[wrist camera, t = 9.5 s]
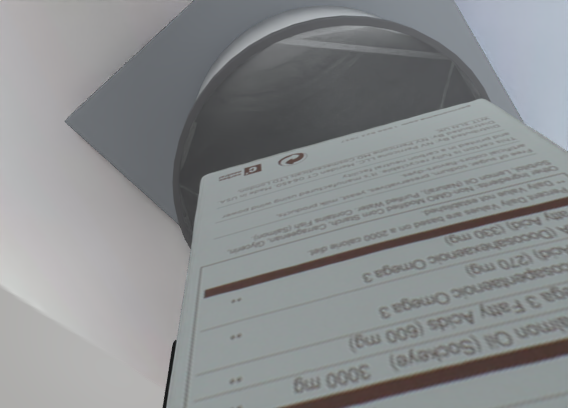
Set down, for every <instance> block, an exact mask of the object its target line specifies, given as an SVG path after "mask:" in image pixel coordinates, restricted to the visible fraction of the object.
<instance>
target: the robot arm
mask: <svg viewBox="0 0 568 408" xmlns="http://www.w3.org/2000/svg"><path fill="white" fill-rule="evenodd" d="M176 342H177V340H175V341H174V342H173V346H172V352H171V359H170V365H169V371H168V378H167V384H166V390H165V397H164V403H163V408H166V405H167V399H168V392H169V386H170V380H171V374H172V368H173V361H174V355H175V348H176Z"/></svg>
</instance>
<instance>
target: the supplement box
mask: <svg viewBox="0 0 568 408" xmlns="http://www.w3.org/2000/svg"><path fill="white" fill-rule="evenodd" d="M166 408H568V151H566V150H565V149H563V148H562V147H560V146H559V145H557V144H556V143H554V142H552V141H551V140H549V139H548V138H546V137H545V136H543V135H542V134H540V133H539V132H537V131H535V130H534V129H532V128H531V127H529V126H527V125H526V124H524V123H523V122H521V121H519V120H518V119H516V118H515V117H513V116H511V115H510V114H508V113H507V112H505V111H504V110H502V109H501V108H499V107H498V106H496V105H494V104H493V103H491V102H489V101H487V100H486V99H478V100H474V101H471V102H468V103H464V104H459V105H456V106H452V107H448V108H444V109H440V110H436V111H432V112H429V113H425V114H421V115H418V116H415V117H411V118H408V119H404V120H399V121H395V122H392V123H389V124H385V125H382V126H378V127H374V128H371V129H367V130H364V131H360V132H355V133H352V134H348V135H345V136H342V137H338V138H334V139H330V140H327V141H323V142H320V143H316V144H313V145H309V146H305V147H302V148H298V149H294V150H290V151H287V152H283V153H279V154H276V155H273V156H269V157H266V158H262V159H258V160H255V161H252V162H249V163H245V164H241V165H237V166H234V167H230V168H226V169H223V170H220V171H216V172H213V173H209V174H207V175H205V176H203V177H202V179H201V181H200V189H199V196H198V202H197V209H196V215H195V221H194V228H193V238H192V245H191V252H190V258H189V265H188V271H187V277H186V284H185V290H184V297H183V303H182V309H181V316H180V323H179V329H178V336H177V342H176V348H175V355H174V361H173V368H172V374H171V380H170V386H169V392H168V399H167V405H166Z"/></svg>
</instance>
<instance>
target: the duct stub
mask: <svg viewBox="0 0 568 408" xmlns="http://www.w3.org/2000/svg"><path fill="white" fill-rule="evenodd" d="M478 99H486V100H487V101H489V102H491V103H493V104H494V105H496V106H498V107H499V108H501V109H502V110H504V111H505V112H507V113H508V114H510V115H511V116H513V117H515V118H516V119H518V120H519V121H521V122H523V120H522V118H521V117H520V115H519V113H518V111H517V110H516V108H515V106H514V104H513V103H512V101H511V99H510V97H509V96H508V94H507V92H506V90H505V89H504V87H503V85H502V83H501V82H500V80H499V78H498V77H497V75H496V73H495V71H494V70H493V68H492V66H491V64H490V63H489V61H488V59H487V57H486V56H485V54H484V52H483V50H482V49H481V47H480V45H479V43H478V42H477V40H476V38H475V36H474V35H473V33H472V31H471V29H470V28H469V26H468V24H467V22H466V21H465V19H464V17H463V15H462V14H461V12H460V10H459V8H458V7H457V5H456V3H455V1H454V0H194V1H193V2H192V3H191V4H189V5H188V6H187V7H186V8H185V9H184V10H183V11H182V12H181V13H180V14H179V15H178V16H177V17H176V18H174V19H173V20H172V21H171V22H170V23H169V24H168V25H167V26H166V27H165V28H164V29H163V30H162V31H160V32H159V33H158V34H157V35H156V36H155V37H154V38H153V39H152V40H151V41H150V42H149V43H148V44H146V45H145V46H144V47H143V48H142V49H141V50H140V51H139V52H138V53H137V54H136V55H135V56H134V57H132V58H131V59H130V60H129V61H128V62H127V63H126V64H125V65H124V66H123V67H122V68H121V69H120V70H119V71H117V72H116V73H115V74H114V75H113V76H112V77H111V78H110V79H109V80H108V81H107V82H106V83H105V84H103V85H102V86H101V87H100V88H99V89H98V90H97V91H96V92H95V93H94V94H93V95H92V96H91V97H89V98H88V99H87V100H86V101H85V102H84V103H83V104H82V105H81V106H80V107H79V108H78V109H77V110H75V111H74V112H73V113H72V114H71V115H70V116H69V117H68V118H67V120H66V121H65V122H66V123H67V124H68V125H69V126H70V127H71V128H72V129H73V130H74V131H76V132H77V133H78V134H79V135H80V136H81V137H82V138H83V139H84V140H86V141H87V142H88V143H89V144H90V145H91V146H92V147H93V148H94V149H95V150H97V151H98V152H99V153H100V154H101V155H102V156H103V157H104V158H105V159H107V160H108V161H109V162H110V163H111V164H112V165H113V166H114V167H115V168H117V169H118V170H119V171H120V172H121V173H122V174H123V175H124V176H125V177H127V178H128V179H129V180H130V181H131V182H132V183H133V184H134V185H135V186H137V187H138V188H139V189H140V190H141V191H142V192H143V193H144V194H145V195H146V196H148V197H149V198H150V199H151V200H152V201H153V202H154V203H155V204H156V205H158V206H159V207H160V208H161V209H162V210H163V211H164V212H165V213H166V214H168V215H169V216H170V217H171V218H172V219H173V220H174V221H175V222H176V223H178V224H179V225H180V227H181V230H182V233H183V235H184V238H185V240H186V242H187V243H188V245H189V247H190V249H191V245H192V238H193V228H194V221H195V215H196V209H197V202H198V196H199V189H200V181H201V179H202V177H203V176H205V175H207V174H209V173H213V172H216V171H220V170H223V169H226V168H230V167H234V166H237V165H241V164H245V163H249V162H252V161H255V160H258V159H262V158H266V157H269V156H273V155H276V154H279V153H283V152H287V151H290V150H294V149H298V148H302V147H305V146H309V145H313V144H316V143H320V142H323V141H327V140H330V139H334V138H338V137H342V136H345V135H348V134H352V133H355V132H360V131H364V130H367V129H371V128H374V127H378V126H382V125H385V124H389V123H392V122H395V121H399V120H404V119H408V118H411V117H415V116H418V115H421V114H425V113H429V112H432V111H436V110H440V109H444V108H448V107H452V106H456V105H459V104H464V103H468V102H471V101H474V100H478ZM523 123H524V122H523Z"/></svg>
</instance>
